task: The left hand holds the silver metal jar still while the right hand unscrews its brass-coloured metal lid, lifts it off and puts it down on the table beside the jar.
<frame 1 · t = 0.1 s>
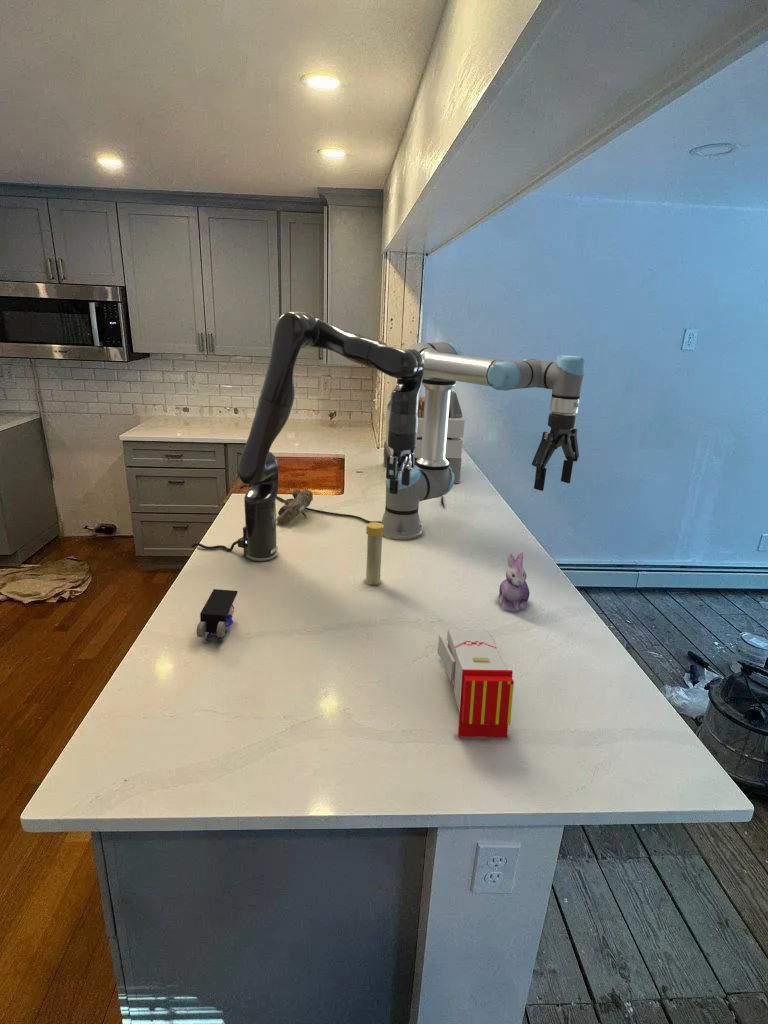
left hand: (399, 489, 152), 29 cm above the counter, tool pointing down, fingers open, 8 cm apart
right hand: (552, 485, 166), 28 cm above the counter, tool pointing down, fingers open, 13 cm apart
black wheeled vehicle: (219, 630, 137), on the counter
jar: (373, 582, 164), on the counter
fossil: (295, 516, 212), on the counter
lid: (375, 526, 158), point 17 cm above the counter, screwed on, not yet turned
white storage crate: (419, 473, 275), on the counter
figurine: (513, 604, 155), on the counter
toy: (469, 691, 119), on the counter
feather: (441, 497, 240), on the counter
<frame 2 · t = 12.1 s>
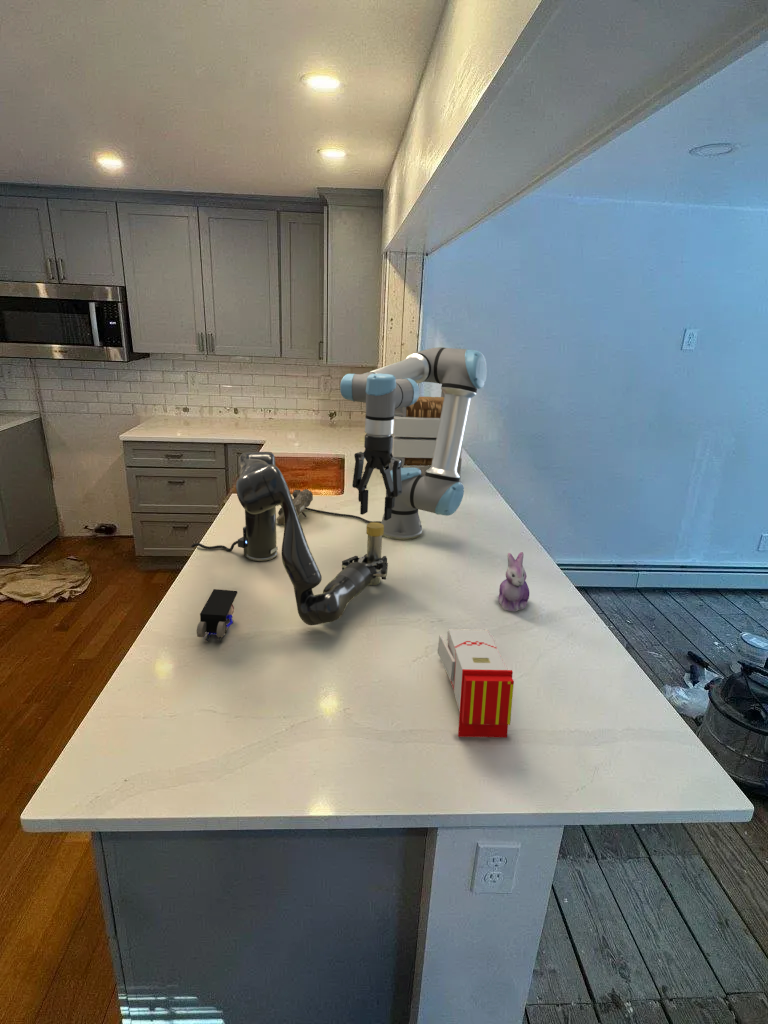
left hand: (377, 557, 164), 7 cm above the counter, tool horizontal, fingers closed on jar, 4 cm apart
right hand: (375, 515, 157), 20 cm above the counter, tool pointing down, fingers open, 7 cm apart
jar: (373, 582, 164), on the counter, touching left hand
everything else where it was.
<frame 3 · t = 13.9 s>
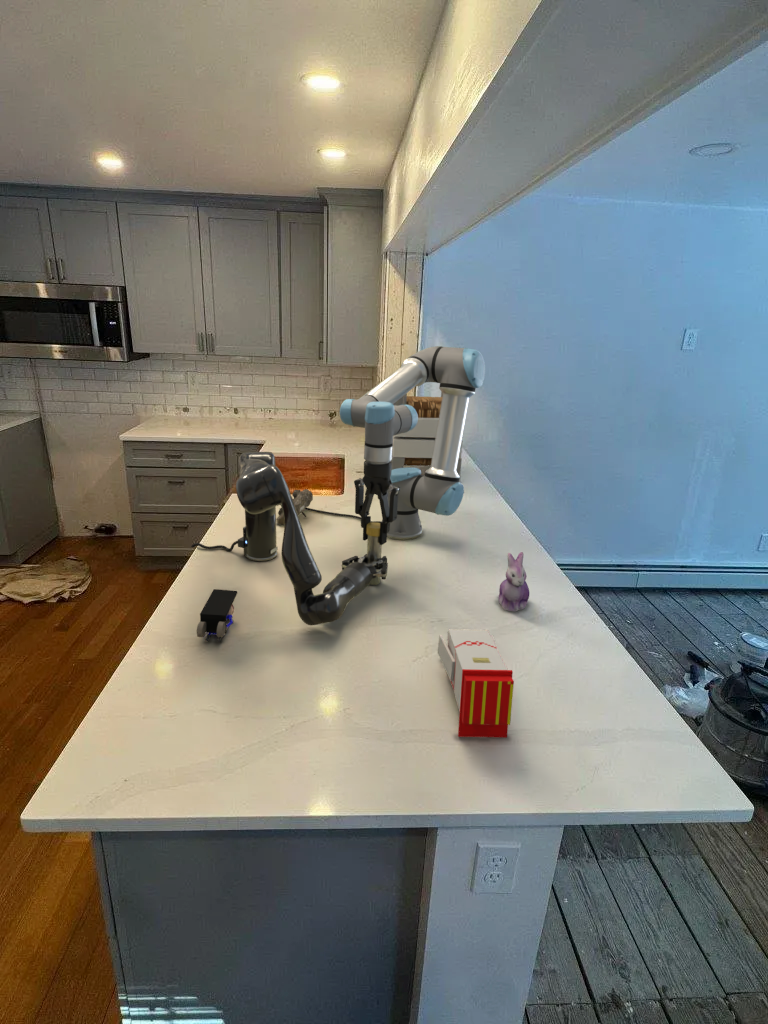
left hand: (377, 557, 164), 7 cm above the counter, tool horizontal, fingers closed on jar, 4 cm apart
right hand: (374, 540, 160), 13 cm above the counter, tool pointing down, fingers closed on lid, 5 cm apart
jar: (372, 582, 164), on the counter, touching left hand
lid: (375, 526, 158), point 17 cm above the counter, screwed on, not yet turned, touching right hand
everything else where it was.
when the right hand's fingers open (13 cm above the counter, at t = 15.2 s): lid stays where it is, point 18 cm above the counter.
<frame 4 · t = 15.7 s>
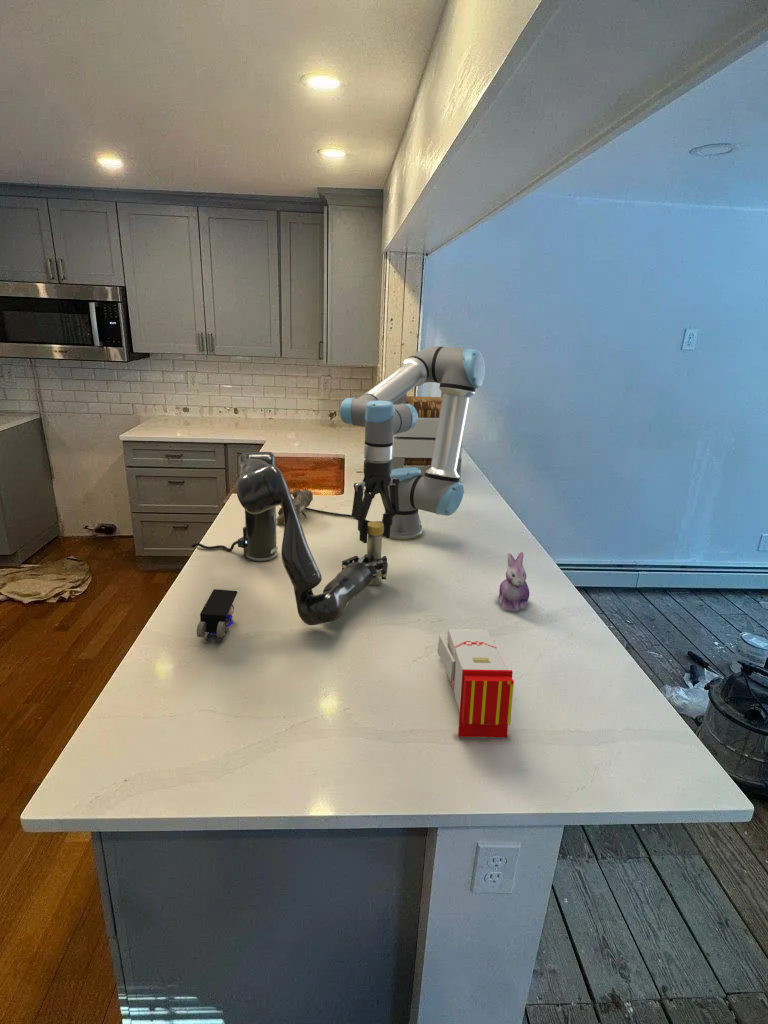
left hand: (377, 557, 164), 7 cm above the counter, tool horizontal, fingers closed on jar, 4 cm apart
right hand: (374, 538, 159), 14 cm above the counter, tool pointing down, fingers open, 7 cm apart
jar: (372, 582, 164), on the counter, touching left hand
lid: (375, 525, 158), point 18 cm above the counter, turned 102° so far, risen 0.3 cm, still on its thread
everything else where it was.
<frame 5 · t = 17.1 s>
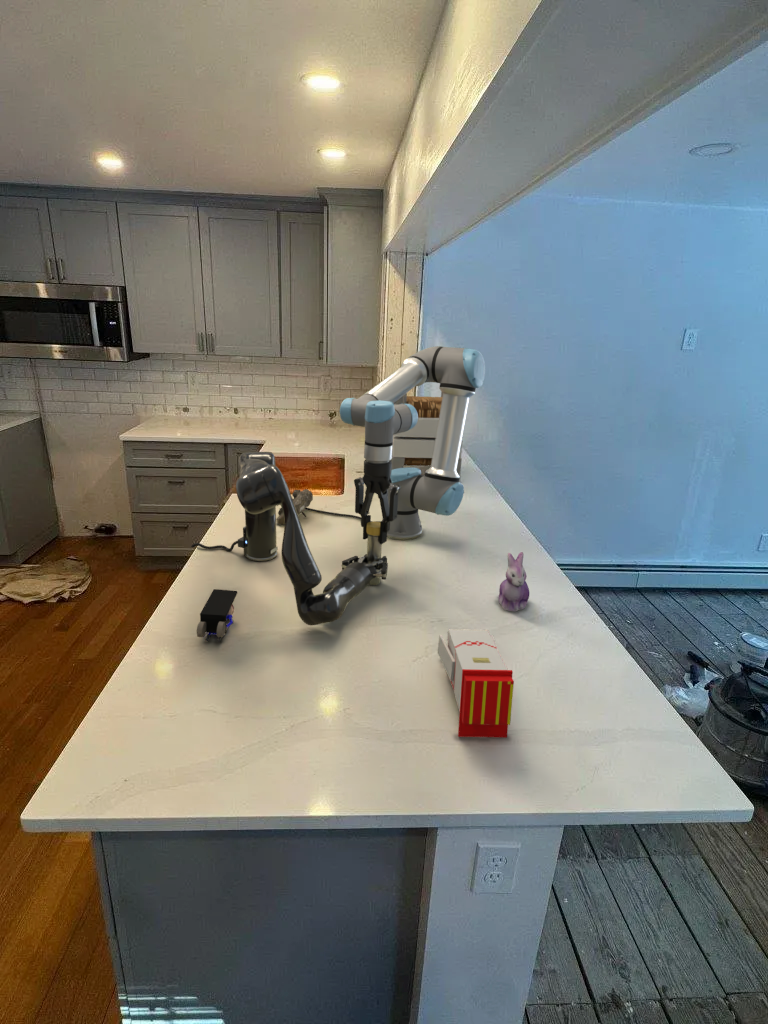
left hand: (377, 557, 164), 7 cm above the counter, tool horizontal, fingers closed on jar, 4 cm apart
right hand: (374, 539, 160), 13 cm above the counter, tool pointing down, fingers closed on lid, 5 cm apart
jar: (372, 582, 164), on the counter, touching left hand
lid: (375, 525, 158), point 18 cm above the counter, turned 102° so far, risen 0.3 cm, still on its thread, touching right hand
everything else where it was.
when the right hand's fingers open (0 cm above the counter, at t = 23.3 s): lid stays where it is, point 2 cm above the counter.
when the left hand's fingers open (7 cm above the counter, at t = 25.0 s): jar stays where it is, on the counter.
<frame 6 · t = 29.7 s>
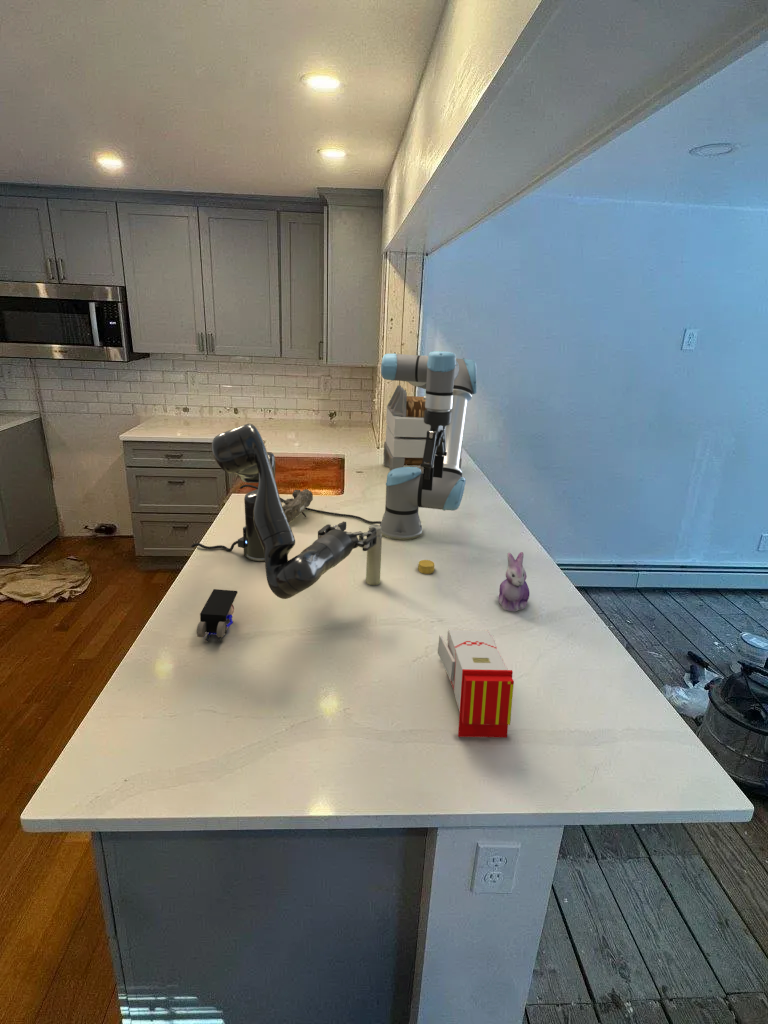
left hand: (359, 528, 148), 20 cm above the counter, tool horizontal, fingers open, 8 cm apart
right hand: (432, 483, 164), 28 cm above the counter, tool pointing down, fingers open, 13 cm apart
jar: (372, 582, 164), on the counter
lid: (426, 564, 172), point 2 cm above the counter, off its thread
everything else where it was.
at the end: lid came off its thread; lid point 2.1 cm above the counter; the left hand is holding nothing; the right hand is holding nothing; jar tilted 0°; jar moved 0.0 cm from its start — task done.
